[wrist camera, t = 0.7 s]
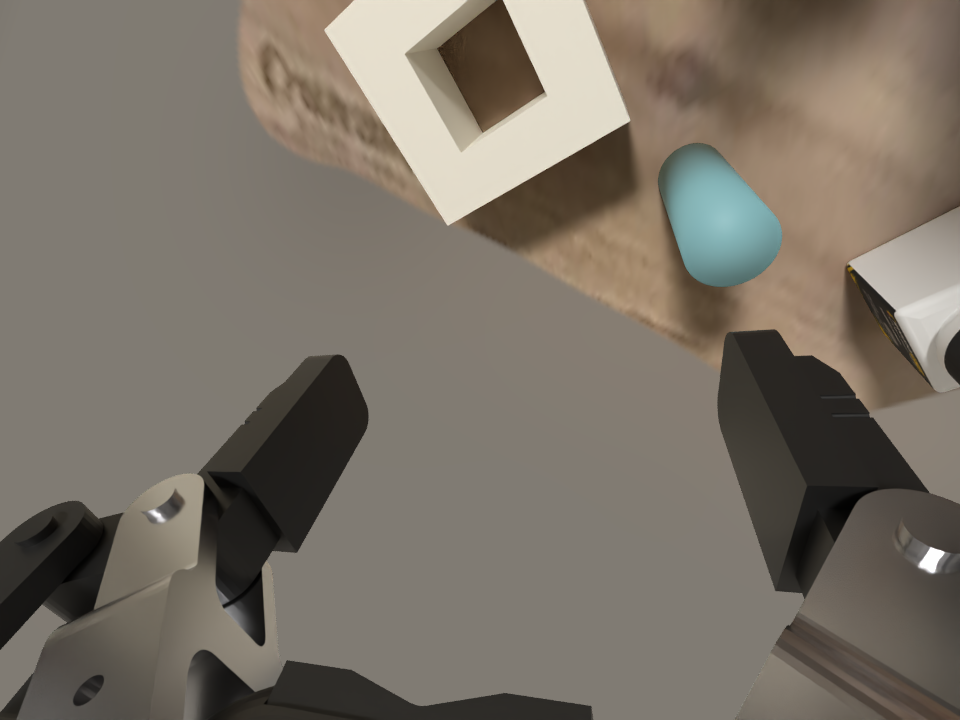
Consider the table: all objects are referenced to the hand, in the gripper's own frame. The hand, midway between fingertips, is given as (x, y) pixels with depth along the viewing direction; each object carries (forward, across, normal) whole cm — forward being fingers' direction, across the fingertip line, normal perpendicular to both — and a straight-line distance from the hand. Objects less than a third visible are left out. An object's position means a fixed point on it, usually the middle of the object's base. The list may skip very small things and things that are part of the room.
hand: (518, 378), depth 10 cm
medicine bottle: (+26, -23, +11) cm, 36 cm away
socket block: (+26, +4, -5) cm, 27 cm away
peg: (+26, -8, +3) cm, 27 cm away
